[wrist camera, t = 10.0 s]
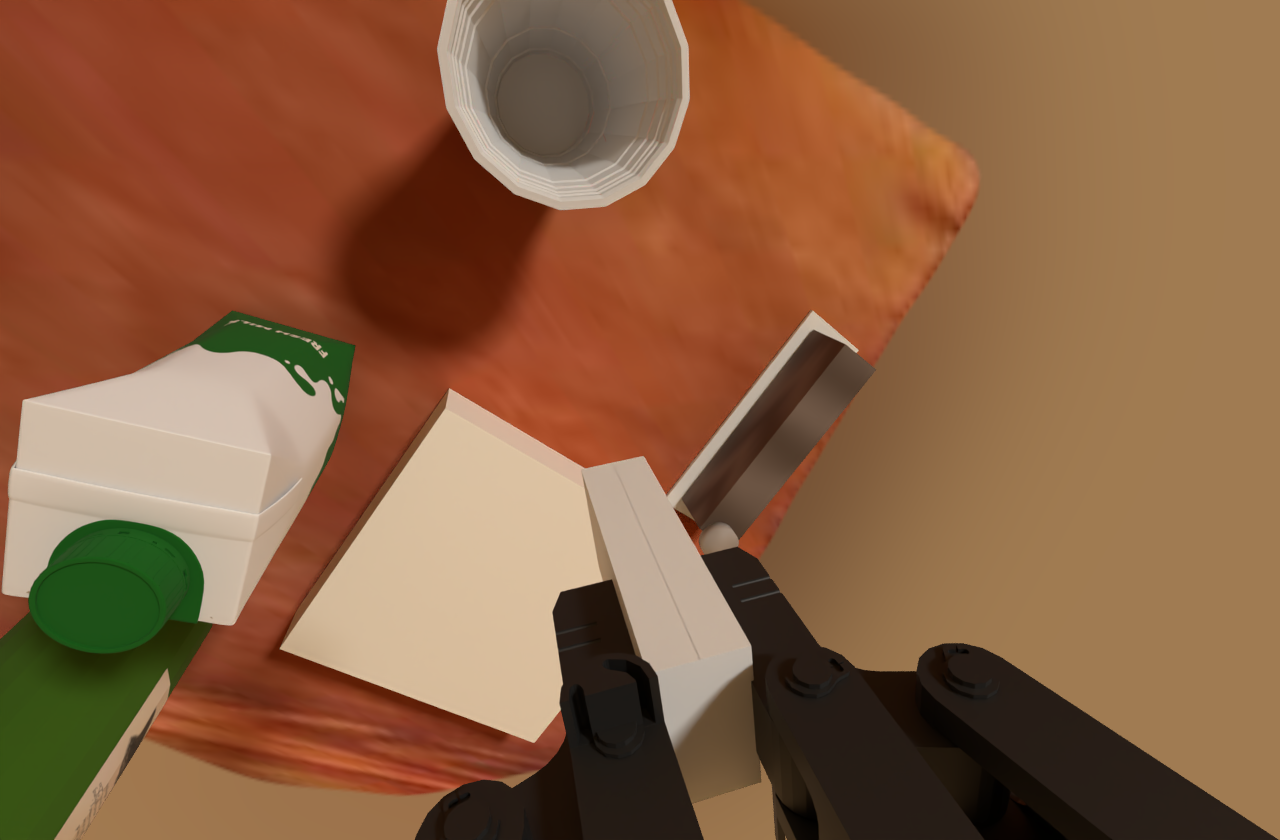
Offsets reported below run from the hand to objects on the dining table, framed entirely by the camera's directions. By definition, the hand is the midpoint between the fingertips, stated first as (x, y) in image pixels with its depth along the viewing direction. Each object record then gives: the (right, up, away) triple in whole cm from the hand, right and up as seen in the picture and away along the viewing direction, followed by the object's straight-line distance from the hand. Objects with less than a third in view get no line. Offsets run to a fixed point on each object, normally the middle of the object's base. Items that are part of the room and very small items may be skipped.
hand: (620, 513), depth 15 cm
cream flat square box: (-10, -9, +32) cm, 35 cm away
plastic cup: (-5, +21, +22) cm, 31 cm away
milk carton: (-22, +5, +24) cm, 33 cm away
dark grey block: (+9, +1, +32) cm, 34 cm away
